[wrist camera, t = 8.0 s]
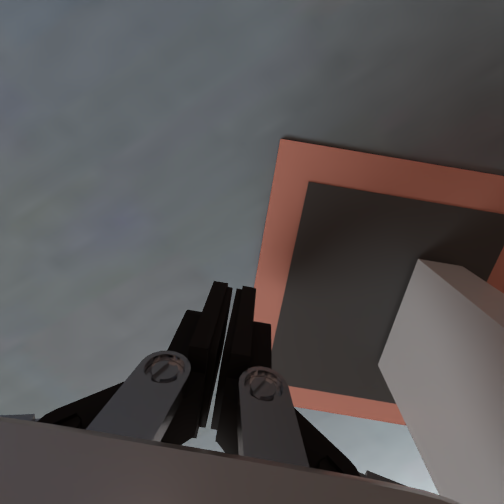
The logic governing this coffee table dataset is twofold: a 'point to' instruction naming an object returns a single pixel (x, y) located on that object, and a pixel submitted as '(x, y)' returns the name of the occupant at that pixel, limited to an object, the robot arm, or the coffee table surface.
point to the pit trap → (361, 263)
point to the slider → (451, 378)
